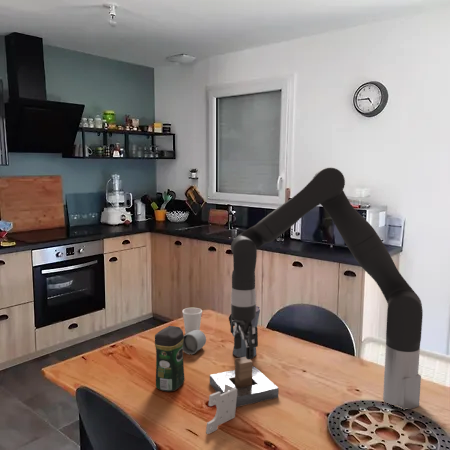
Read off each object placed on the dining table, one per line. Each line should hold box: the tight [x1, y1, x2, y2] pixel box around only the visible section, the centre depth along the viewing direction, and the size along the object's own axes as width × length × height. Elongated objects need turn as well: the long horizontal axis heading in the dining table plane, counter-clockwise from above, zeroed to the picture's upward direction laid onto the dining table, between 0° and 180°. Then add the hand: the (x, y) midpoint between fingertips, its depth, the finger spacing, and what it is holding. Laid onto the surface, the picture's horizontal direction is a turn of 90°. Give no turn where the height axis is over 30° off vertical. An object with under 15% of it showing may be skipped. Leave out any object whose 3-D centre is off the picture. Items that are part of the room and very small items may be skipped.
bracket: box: [205, 384, 237, 435], centre depth 120 cm, size 11×4×10 cm, turn 141°
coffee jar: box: [154, 325, 185, 392], centre depth 140 cm, size 10×8×19 cm
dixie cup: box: [181, 307, 203, 335], centre depth 185 cm, size 8×8×10 cm
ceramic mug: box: [183, 330, 207, 355], centre depth 169 cm, size 11×8×8 cm
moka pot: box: [228, 305, 261, 358], centre depth 164 cm, size 10×15×20 cm, turn 137°
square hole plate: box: [209, 365, 280, 408], centre depth 138 cm, size 16×16×3 cm
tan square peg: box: [234, 357, 253, 388], centre depth 138 cm, size 4×4×10 cm
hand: (243, 353), depth 137 cm, fingers open, 8 cm apart
